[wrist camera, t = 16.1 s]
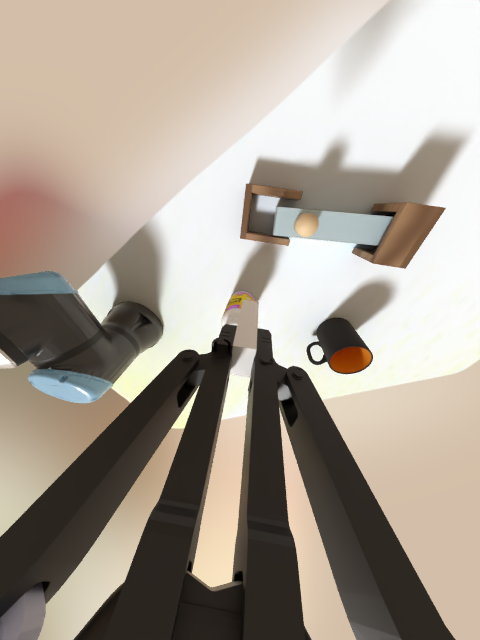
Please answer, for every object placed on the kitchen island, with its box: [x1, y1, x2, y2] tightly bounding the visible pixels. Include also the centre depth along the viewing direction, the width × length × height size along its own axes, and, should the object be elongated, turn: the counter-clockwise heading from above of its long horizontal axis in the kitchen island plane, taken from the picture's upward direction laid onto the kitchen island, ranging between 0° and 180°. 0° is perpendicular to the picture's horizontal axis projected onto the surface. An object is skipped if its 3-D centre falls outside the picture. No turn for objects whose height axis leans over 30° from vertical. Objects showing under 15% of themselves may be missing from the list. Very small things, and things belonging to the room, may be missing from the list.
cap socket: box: [352, 203, 446, 268], centre depth 28 cm, size 5×8×8 cm, turn 173°
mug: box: [307, 318, 373, 374], centre depth 40 cm, size 8×12×10 cm
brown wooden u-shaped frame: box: [240, 184, 302, 246], centre depth 30 cm, size 9×8×4 cm
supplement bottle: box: [222, 291, 255, 327], centre depth 37 cm, size 7×7×13 cm
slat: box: [272, 207, 394, 246], centre depth 28 cm, size 19×4×9 cm, turn 86°
